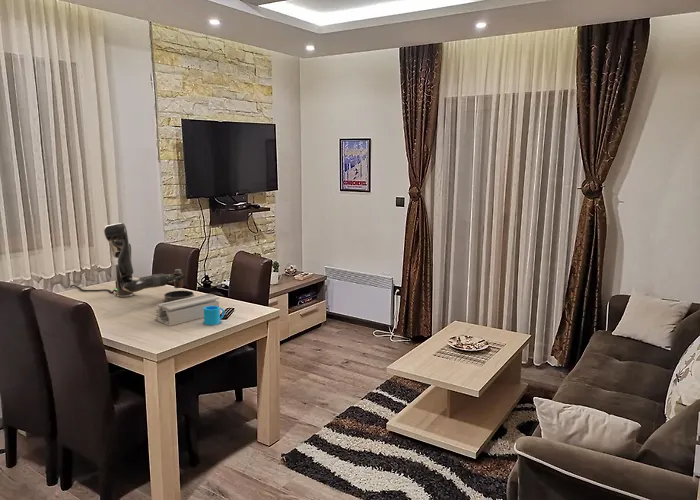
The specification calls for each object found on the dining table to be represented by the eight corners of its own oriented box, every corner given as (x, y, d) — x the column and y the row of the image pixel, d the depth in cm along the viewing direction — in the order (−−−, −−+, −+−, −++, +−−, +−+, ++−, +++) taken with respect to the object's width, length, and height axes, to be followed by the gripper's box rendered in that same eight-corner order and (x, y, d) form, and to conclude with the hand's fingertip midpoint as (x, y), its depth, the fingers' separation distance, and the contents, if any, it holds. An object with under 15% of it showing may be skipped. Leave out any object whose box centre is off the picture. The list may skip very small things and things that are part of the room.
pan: (158, 301, 305) (157, 295, 304) (178, 294, 320) (177, 289, 320) (180, 304, 298) (180, 299, 298) (199, 298, 314) (199, 292, 313)
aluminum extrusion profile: (155, 319, 270) (154, 301, 268) (204, 308, 293) (204, 291, 291) (170, 325, 261) (169, 307, 259) (219, 313, 284) (218, 296, 282)
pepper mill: (172, 287, 306) (171, 270, 304) (178, 285, 311) (177, 268, 309) (178, 288, 304) (178, 270, 302) (184, 286, 309) (184, 269, 307)
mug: (209, 326, 261) (209, 311, 260) (201, 322, 267) (200, 307, 265) (229, 321, 270) (228, 306, 269) (220, 317, 276) (219, 303, 274)
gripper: (163, 276, 291) (188, 271, 304) (149, 272, 299) (175, 268, 312) (163, 288, 292) (189, 284, 305) (150, 284, 300) (175, 280, 314)
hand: (181, 276), depth 309 cm, fingers closed on pepper mill, 5 cm apart
